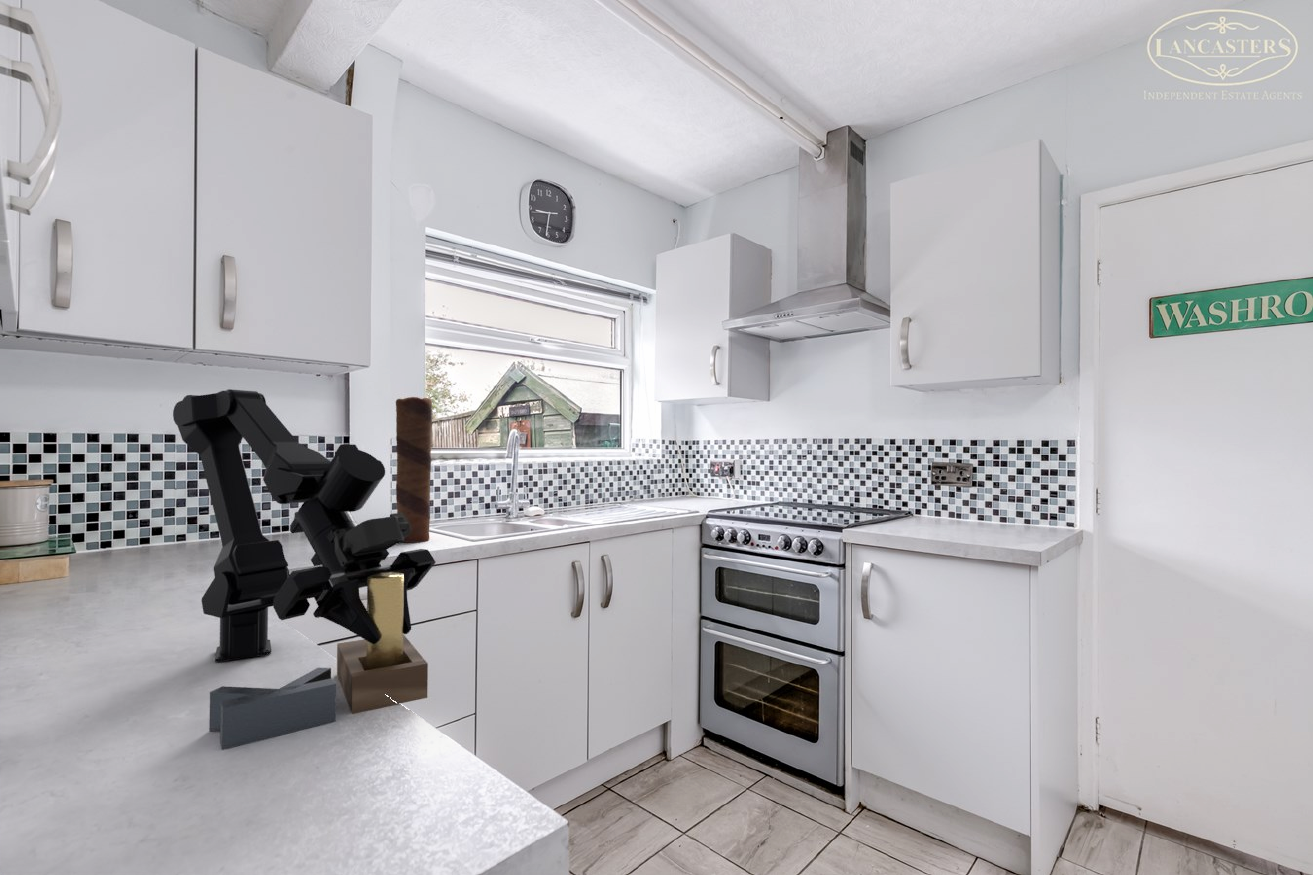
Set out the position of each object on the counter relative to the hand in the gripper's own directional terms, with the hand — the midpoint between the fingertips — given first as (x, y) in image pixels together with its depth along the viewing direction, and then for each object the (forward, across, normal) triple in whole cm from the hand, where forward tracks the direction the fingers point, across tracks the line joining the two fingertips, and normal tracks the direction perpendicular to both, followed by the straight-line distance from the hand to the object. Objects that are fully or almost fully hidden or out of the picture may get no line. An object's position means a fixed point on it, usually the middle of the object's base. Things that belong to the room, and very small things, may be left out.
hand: (393, 636), depth 74 cm
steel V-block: (+2, -11, +8) cm, 14 cm away
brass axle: (+4, 0, +6) cm, 7 cm away
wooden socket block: (+2, +1, +8) cm, 8 cm away
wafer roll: (-64, +85, +74) cm, 130 cm away
